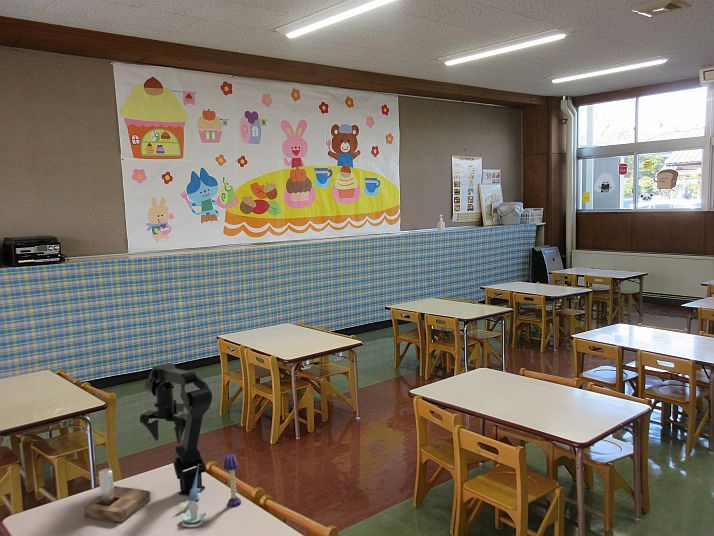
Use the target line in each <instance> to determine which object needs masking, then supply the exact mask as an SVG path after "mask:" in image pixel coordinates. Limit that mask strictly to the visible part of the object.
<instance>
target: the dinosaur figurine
mask: <svg viewBox="0 0 714 536" xmlns="http://www.w3.org/2000/svg"><path fill="white" fill-rule="evenodd" d="M198 467H199V464H198ZM197 476H198V468H197V473H196V476H195V480H194V484H193V487H192V489H191V490H190V494H189V495H190V496H188V497H189V498H188V500H186V501H184V502H182V501H181V502H180V503H179V504H178V505H179V507H180V508H179V510H180V511H182V512H184V513H187V512H188V508H189V504H190V503H191V502H196V501H200V498H199V497H200V493H201V492H202V491H201V489H200V488H199V489H197ZM199 491H201V492H200V493H199Z"/></svg>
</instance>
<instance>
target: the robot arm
mask: <svg viewBox="0 0 714 536" xmlns="http://www.w3.org/2000/svg"><path fill="white" fill-rule="evenodd" d="M151 368H152V370H151V371H150V373H149V376H148V378H147V381H146V382H145V384H144V390H145V392H146V393H149V394H150V395H152V396H155V397H156V398H155V400H156V402H155V403H154V408H156V410H151V409H150V410H147V411H145V412H144V413H141V414H140V416H139V423H140V424H142V425H143V426H145V427H146V428H147V430H148V431H149V433H150V435H151V436H152V437H153V439H154V440H155V441H158V440H159V437H160V435H159V423H160V421H162V422H163V421H164V422H173V423H174V427H173V429H174V433H175V437H176V441H177V444H179V445H177V446H175V450H174V454H173V456H174V459H173V468H174V473H175V475H176V479H177V480H179V489H180V491H179V492H178V495H180V496H188V497H189V496H190V495H189V494H190V490H191V489H192V487H193V484H194V480H195V476H196V473H197V468H198V476H197V489H199V488H200V489H201V491H199V493H201V492H203V490H204V489H205V488H206V486H205V485H203V478H202V474H203V473H206V471H207V470H206V469H207V467H206V464H205V463H204V460H203V458H202V455H201V454H202V453H201V451H199V448H198V445H199V438H200V434H201V428H202V423H203V417H204V415H205V414H206V412H207V411H209V409H210V408H211V404H212V401H213V393H212V391H211V389H210V387H209V386H208V384H207V382H205V381H204V380H203V379H202V378H199V377H198V375H197V374H196V372H195V371H192V370H191V371H189V370H186V369H185V370H184V369H180V368H176V365H174V364H172V363H170V362H167V363H163V364H159V365H154V366H153V367H151ZM173 383H174V384H179V385H180V387H181V389H180V394H179V396H180V398H181V400H182V402H177V400H176V399H175V398H174V389H175V385H174V384H173ZM190 384H193V385H194V386H195V387H197V388H198V389H195V390H192V391H188V392H186V390H185V388H186V386H188V385H190ZM184 409H186V410H187V413H185V412H184V411H185V410H184ZM179 412H180V413H181V414H180V415H178V414H179ZM177 415H178V416H177ZM182 438H183V439H182ZM181 441H182V444H181ZM198 464H199V467H198Z"/></svg>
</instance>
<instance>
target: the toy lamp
mask: <svg viewBox="0 0 714 536" xmlns="http://www.w3.org/2000/svg"><path fill="white" fill-rule="evenodd" d="M238 467H239V462H238V459H237V456H236V454H235V453H232V452H231V453H227V454H226V455H225V457H224V462H223V468H224V470H225V471H226V470H227V471H228V476H229V485H230V487H229V488H230V494H231V495H230V497H231V498H229V499H228V501H227V506H228V507H231V508H235V507H238V506H240V505H241V504H242V500H241V498H240V497H238V494H237V485H236V476H235V475H236V473H235V470H236V469H237V468H238Z"/></svg>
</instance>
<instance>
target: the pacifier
mask: <svg viewBox="0 0 714 536" xmlns="http://www.w3.org/2000/svg"><path fill="white" fill-rule="evenodd" d="M198 510H199V504H198V502H196V501H194V502H191V503H190V504H189V506H188V511H189V512H190V513H189V512H183V513H182V514H181V518H182V520H183V521H182V522H181V526H182V527H185V528H196V527H197V528H198V527H200V526H202V524H203V523H204V521H203V519H204V518H205V517H206V515H207V513H206V512H202V513H200V514H198Z"/></svg>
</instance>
